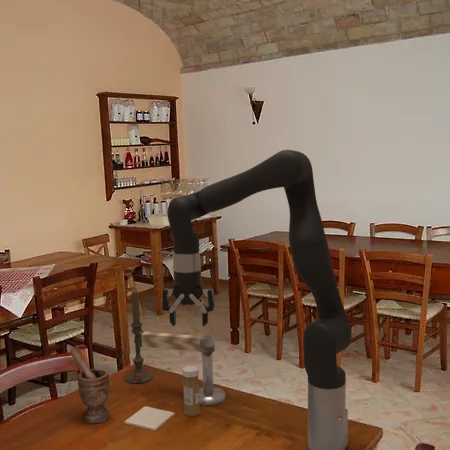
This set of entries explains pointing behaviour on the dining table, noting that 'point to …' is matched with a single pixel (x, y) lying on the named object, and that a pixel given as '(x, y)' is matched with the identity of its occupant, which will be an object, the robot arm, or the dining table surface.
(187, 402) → the sprinkles bottle
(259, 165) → the robot arm
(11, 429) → the dining table surface
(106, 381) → the mortar and pestle
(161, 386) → the dining table surface
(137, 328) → the candlestick holder
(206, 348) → the swing arm
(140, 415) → the cream pad
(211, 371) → the post
